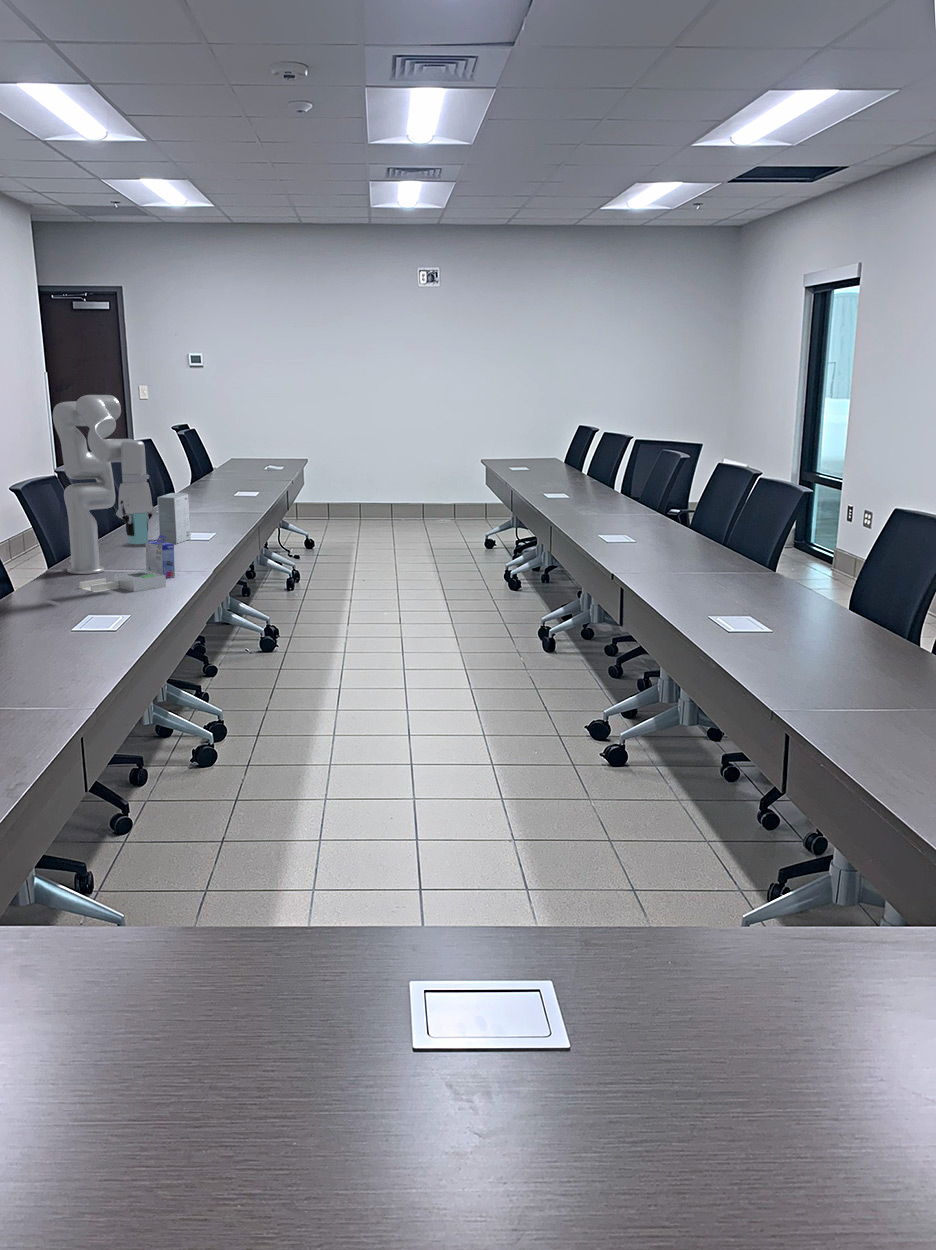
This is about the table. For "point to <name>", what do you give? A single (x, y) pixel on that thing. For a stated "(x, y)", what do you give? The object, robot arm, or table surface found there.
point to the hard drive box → (174, 517)
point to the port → (140, 580)
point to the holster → (98, 585)
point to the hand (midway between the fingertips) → (137, 534)
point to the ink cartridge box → (160, 557)
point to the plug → (139, 529)
